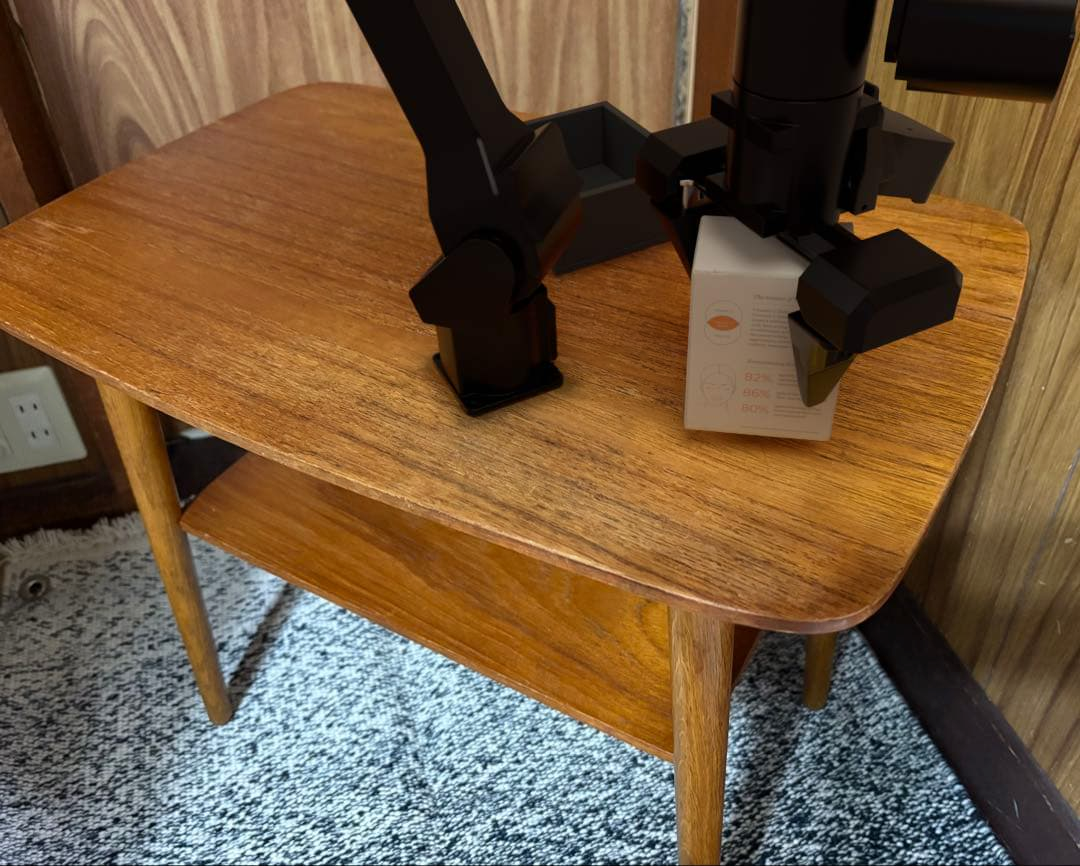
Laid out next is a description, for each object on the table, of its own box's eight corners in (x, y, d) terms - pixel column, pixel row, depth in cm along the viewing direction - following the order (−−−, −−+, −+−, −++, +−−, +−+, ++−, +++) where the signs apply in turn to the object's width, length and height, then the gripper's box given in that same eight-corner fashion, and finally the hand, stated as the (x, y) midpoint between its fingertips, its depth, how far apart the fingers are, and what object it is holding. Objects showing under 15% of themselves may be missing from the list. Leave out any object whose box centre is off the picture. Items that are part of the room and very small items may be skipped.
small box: (828, 381, 57) (858, 220, 50) (829, 445, 53) (863, 279, 46) (689, 369, 59) (700, 211, 52) (680, 431, 54) (691, 268, 48)
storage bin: (556, 276, 70) (553, 205, 66) (482, 199, 79) (476, 133, 76) (693, 234, 73) (696, 164, 70) (606, 164, 83) (606, 100, 79)
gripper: (1107, 109, 39) (1005, 408, 50) (814, -15, 52) (782, 243, 62) (885, 177, 36) (825, 483, 46) (631, 27, 49) (629, 292, 59)
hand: (763, 358), depth 54 cm, fingers closed on small box, 8 cm apart
